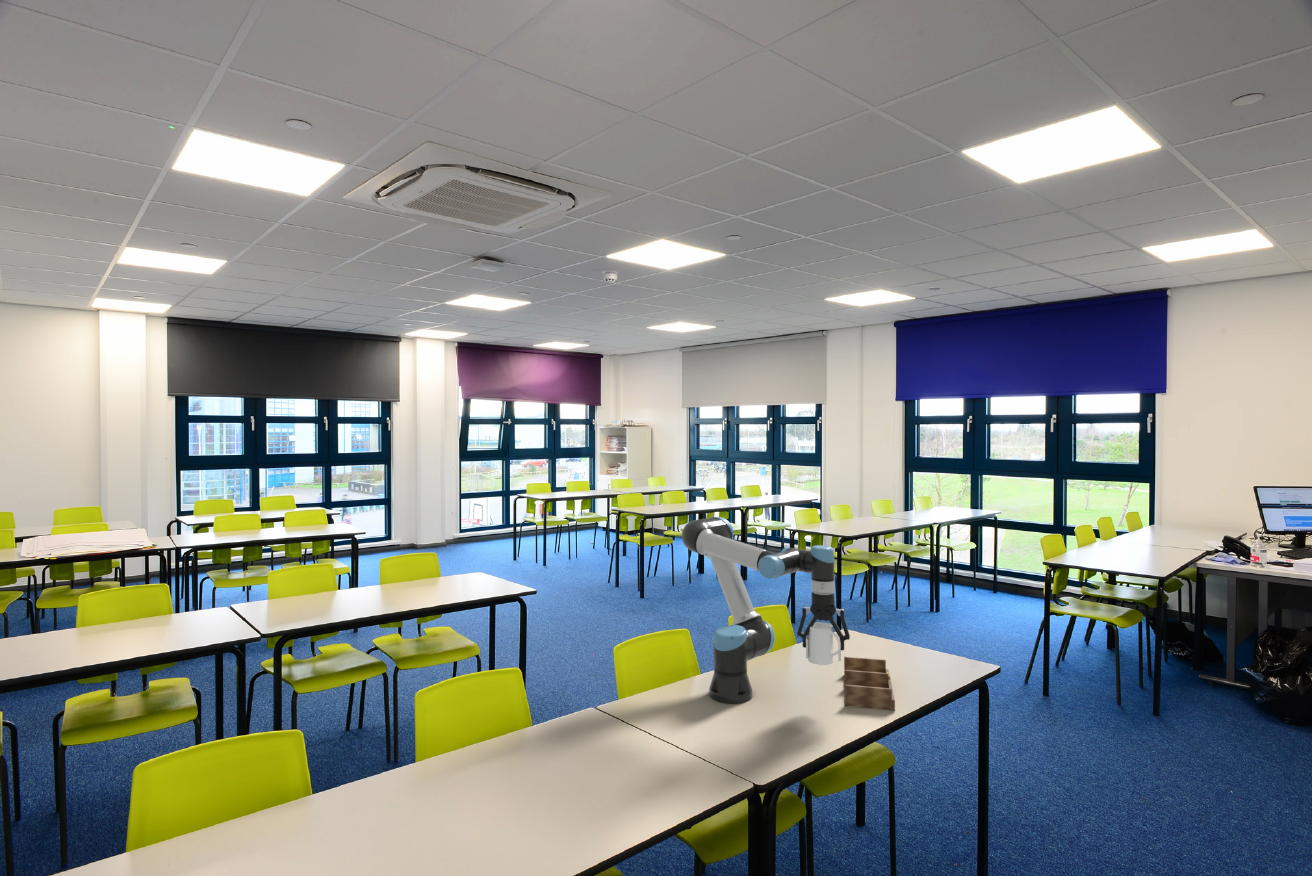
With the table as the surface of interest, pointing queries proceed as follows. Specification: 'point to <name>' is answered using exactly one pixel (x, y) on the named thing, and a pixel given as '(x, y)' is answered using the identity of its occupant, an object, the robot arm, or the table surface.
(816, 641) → the mug
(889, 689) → the rack
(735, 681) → the robot arm
